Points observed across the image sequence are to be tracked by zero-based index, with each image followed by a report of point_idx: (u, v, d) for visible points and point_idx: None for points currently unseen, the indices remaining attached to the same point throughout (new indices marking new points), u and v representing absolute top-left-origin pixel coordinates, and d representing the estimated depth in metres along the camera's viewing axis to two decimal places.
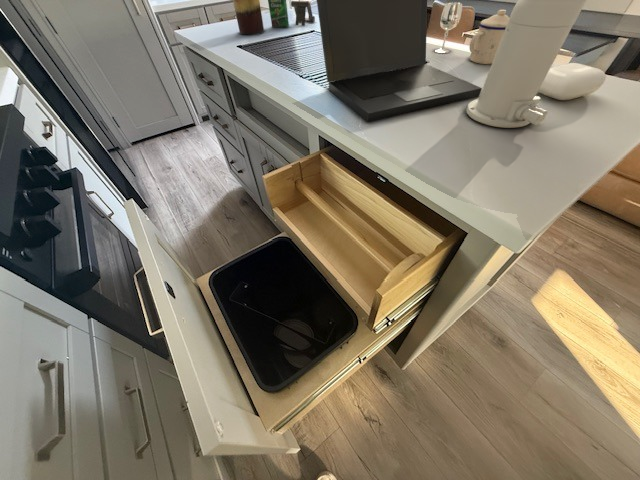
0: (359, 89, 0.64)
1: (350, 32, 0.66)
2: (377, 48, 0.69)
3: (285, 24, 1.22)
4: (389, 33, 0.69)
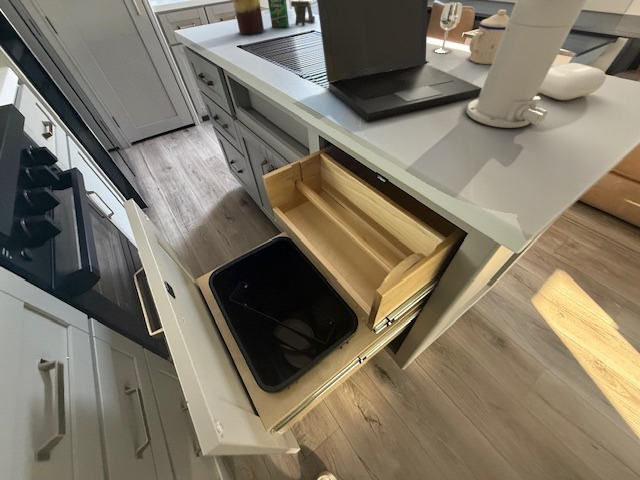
0: (359, 89, 0.64)
1: (350, 32, 0.66)
2: (377, 48, 0.69)
3: (285, 24, 1.22)
4: (389, 32, 0.69)
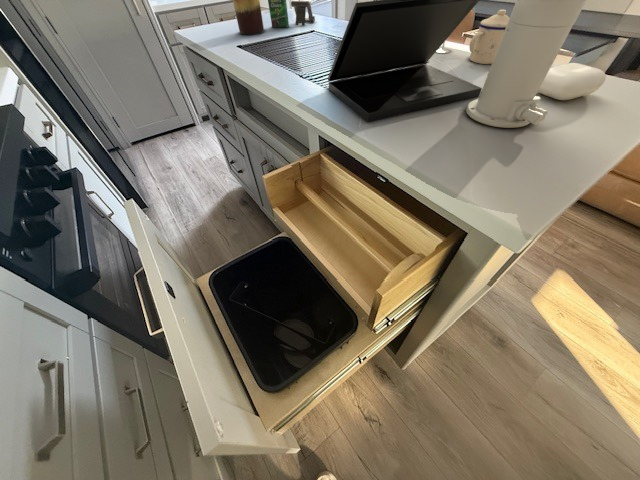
0: (359, 89, 0.64)
1: (368, 49, 0.61)
2: (387, 58, 0.67)
3: (285, 24, 1.22)
4: (406, 47, 0.65)
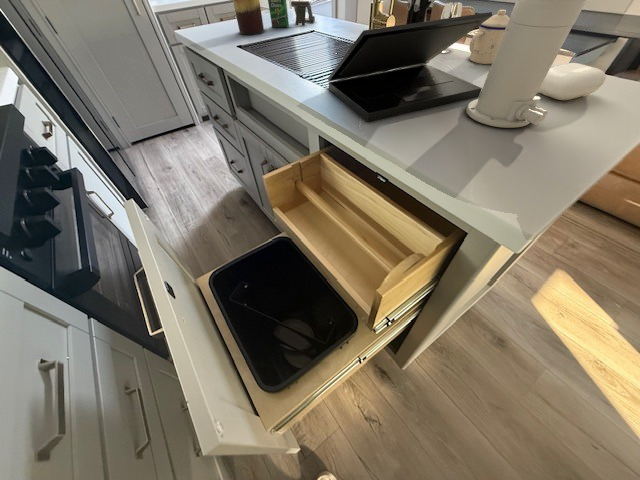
0: (359, 89, 0.64)
1: (370, 59, 0.61)
2: (388, 63, 0.67)
3: (285, 24, 1.22)
4: (408, 55, 0.65)
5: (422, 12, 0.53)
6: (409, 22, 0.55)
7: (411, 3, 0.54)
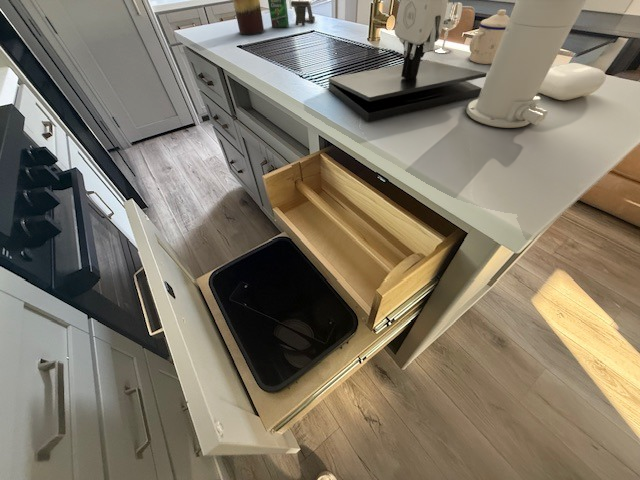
0: None
1: None
2: None
3: (285, 24, 1.22)
4: None
5: (417, 59, 0.58)
6: (405, 67, 0.60)
7: (407, 51, 0.59)
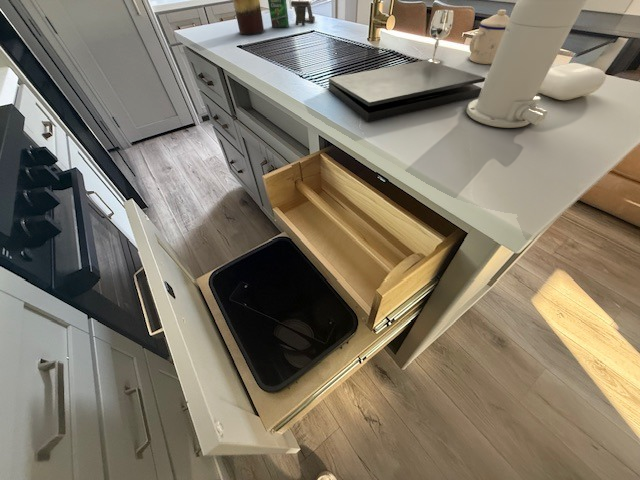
0: None
1: None
2: None
3: (285, 24, 1.22)
4: None
5: None
6: None
7: None
